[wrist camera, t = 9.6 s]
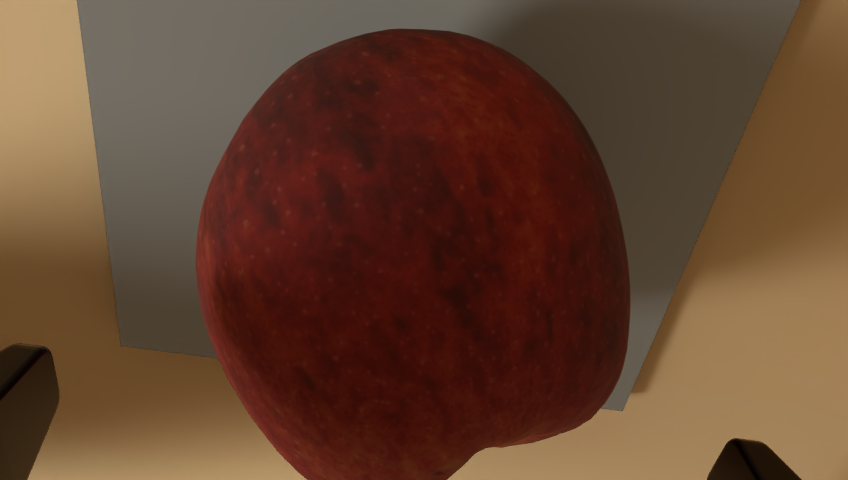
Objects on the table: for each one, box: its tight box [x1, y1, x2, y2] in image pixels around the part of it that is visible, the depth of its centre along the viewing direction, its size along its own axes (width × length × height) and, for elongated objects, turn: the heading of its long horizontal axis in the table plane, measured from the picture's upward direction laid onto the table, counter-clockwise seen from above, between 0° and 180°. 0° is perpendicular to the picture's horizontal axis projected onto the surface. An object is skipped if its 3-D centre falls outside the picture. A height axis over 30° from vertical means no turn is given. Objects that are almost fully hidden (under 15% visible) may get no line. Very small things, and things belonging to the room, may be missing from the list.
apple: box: [196, 29, 631, 480], centre depth 13 cm, size 7×8×8 cm
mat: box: [77, 0, 801, 411], centre depth 16 cm, size 14×14×1 cm
